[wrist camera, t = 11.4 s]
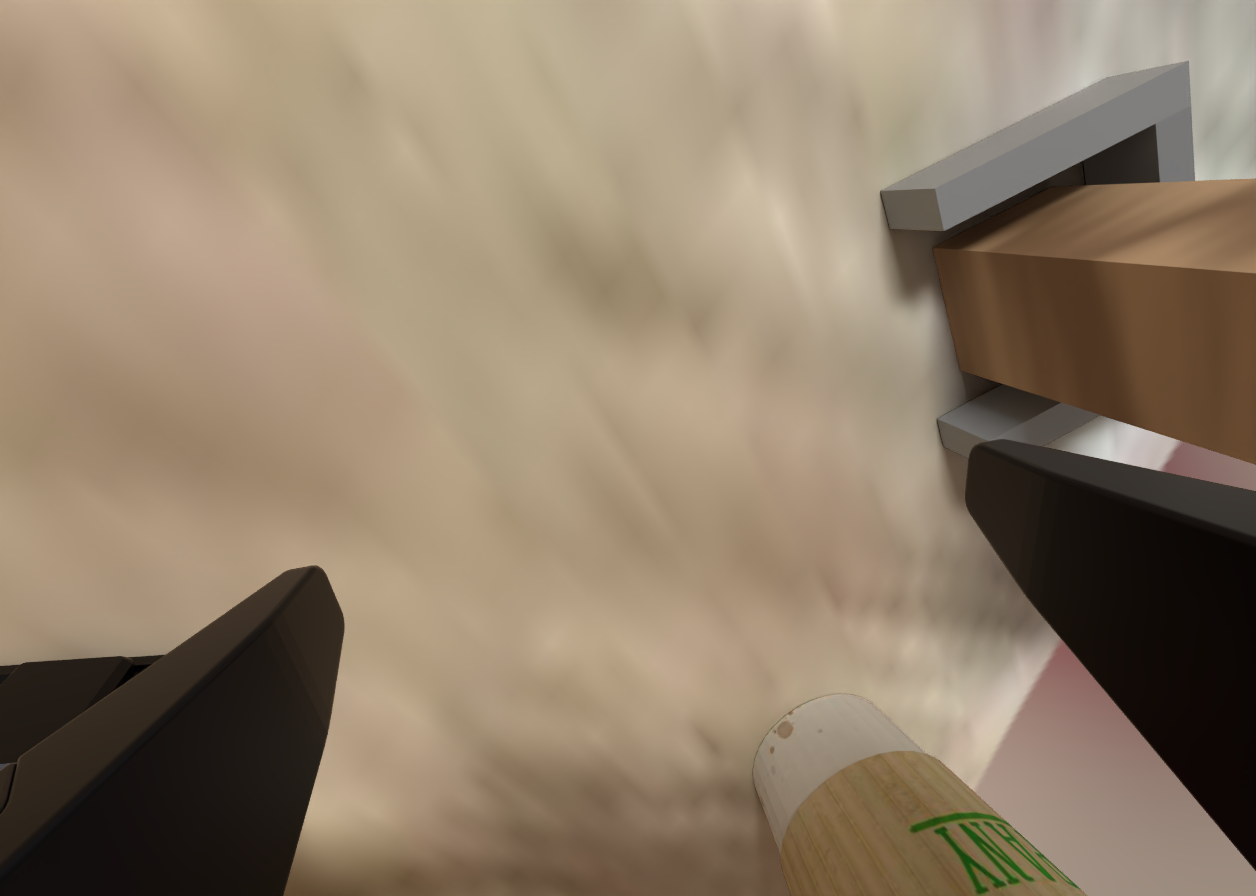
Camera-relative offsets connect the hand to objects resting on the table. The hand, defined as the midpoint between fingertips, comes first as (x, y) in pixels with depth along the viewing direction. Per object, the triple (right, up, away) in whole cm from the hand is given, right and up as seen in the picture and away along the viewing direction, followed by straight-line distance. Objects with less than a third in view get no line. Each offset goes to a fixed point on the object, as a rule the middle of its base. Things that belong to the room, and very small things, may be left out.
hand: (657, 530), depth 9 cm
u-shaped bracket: (+12, +7, +13) cm, 19 cm away
